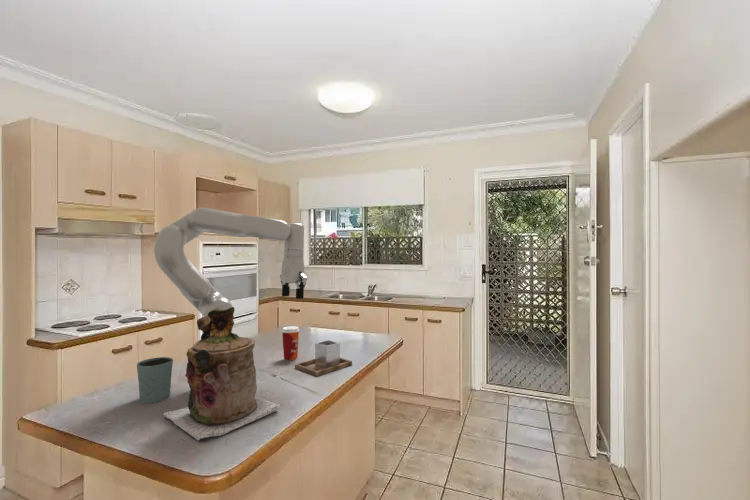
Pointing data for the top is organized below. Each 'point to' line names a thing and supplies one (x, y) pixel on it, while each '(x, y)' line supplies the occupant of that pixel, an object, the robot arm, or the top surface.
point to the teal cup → (154, 379)
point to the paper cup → (290, 342)
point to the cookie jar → (220, 381)
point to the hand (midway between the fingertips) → (292, 297)
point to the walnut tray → (317, 371)
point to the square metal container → (327, 354)
